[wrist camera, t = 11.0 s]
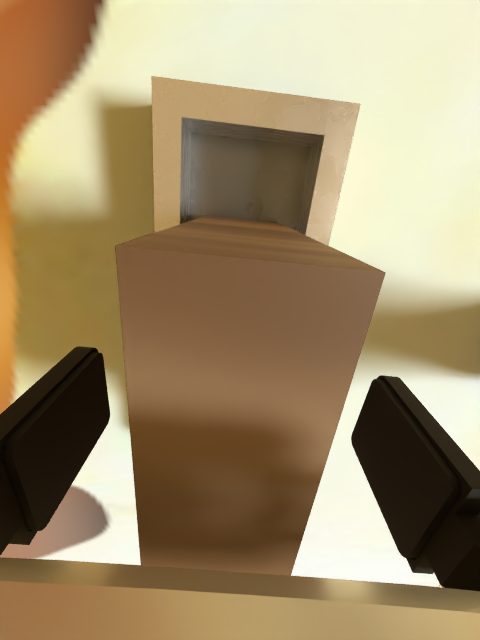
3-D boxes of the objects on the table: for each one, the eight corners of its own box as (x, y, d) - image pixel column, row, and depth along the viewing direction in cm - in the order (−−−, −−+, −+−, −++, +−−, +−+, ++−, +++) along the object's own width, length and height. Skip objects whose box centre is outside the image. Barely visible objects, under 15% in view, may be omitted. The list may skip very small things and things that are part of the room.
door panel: (206, 215, 15) (111, 245, 4) (279, 223, 15) (389, 273, 4) (198, 391, 20) (144, 632, 9) (254, 396, 20) (272, 637, 9)
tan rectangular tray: (166, 105, 14) (143, 75, 11) (338, 127, 14) (367, 104, 11) (166, 430, 22) (154, 468, 19) (274, 438, 23) (279, 477, 20)
